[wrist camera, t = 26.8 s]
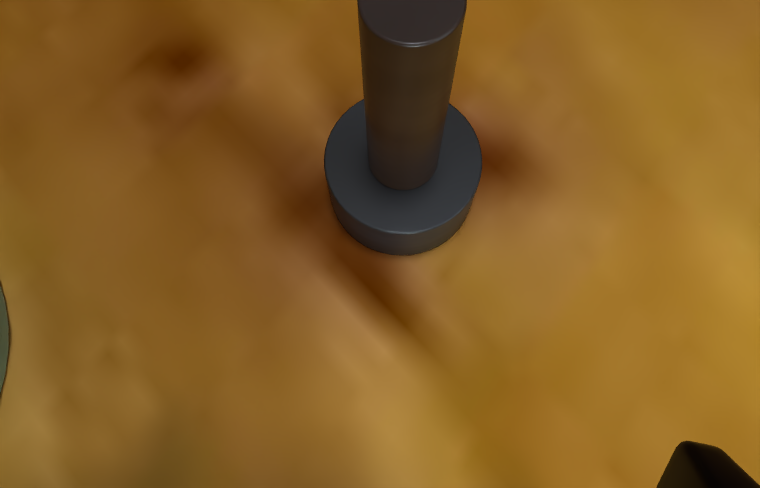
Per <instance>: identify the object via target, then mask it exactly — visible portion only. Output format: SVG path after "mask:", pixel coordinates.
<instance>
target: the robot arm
mask: <svg viewBox="0 0 760 488" xmlns="http://www.w3.org/2000/svg"><path fill="white" fill-rule="evenodd" d="M657 488H760V485H758V484H757V483H756V482H755V481H754V480H753V479H752V478H751V477H750V476H749V475H748V474H747V473H746V472H745V471H744V470H743V469H742V468H741V467H740V466H739V465H738V464H736V463H735V462H734V461H733V460H732V459H731V458H730V457H729V456H728V455H727V454H726V453H725V452H724V451H723V450H721V449H720V448H718V447H715V446H712V445H707V444H702V443H697V442H692V441H683V442H681V443H680V444H679V445H678V446H677V447H676V449H675V451H674V453H673V455H672V457H671V459H670V461H669V463H668V465H667V467H666V469H665V471H664V473H663V475H662V477H661V479H660V481H659V483H658V485H657Z"/></svg>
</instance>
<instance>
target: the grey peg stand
mask: <svg viewBox="0 0 760 488" xmlns="http://www.w3.org/2000/svg"><path fill="white" fill-rule="evenodd" d="M357 2H358V18H359V33H360V47H361V62H362V77H363V91H364V99H363V100H361V101H359V102H358V103H356V104H355V105H354V106H352V107H351V108H350V109H348V110H347V111H346V112H345V113H344V114H343V115H342V116H341V118H340V119H339V120H338V122H337V123H336V124H335V126H334V128H333V129H332V131H331V133H330V136H329V138H328V141H327V144H326V148H325V155H324V169H325V175H326V180H327V184H328V188H329V193H330V197H331V201H332V205H333V208H334V211H335V213H336V215H337V218H338V220H339V221H340V223H341V224H342V226H343V227H344V228H345V229H346V231H347V232H348V233H349V234H350V235H351V236H352V237H353V238H355V239H356V240H357V241H359V242H360V243H362V244H363V245H365V246H367V247H369V248H371V249H373V250H376V251H379V252H382V253H386V254H391V255H412V254H418V253H422V252H425V251H428V250H431V249H433V248H435V247H437V246H439V245H441V244H442V243H444V242H445V241H447V240H448V239H449V238H450V237H451V236H453V235H454V233H455V232H456V231H457V230H458V229H459V228H460V226H461V225H462V223H463V222H464V220H465V218H466V216H467V214H468V212H469V209H470V206H471V204H472V201H473V198H474V195H475V192H476V190H477V187H478V184H479V181H480V177H481V171H482V154H481V148H480V144H479V141H478V138H477V136H476V134H475V132H474V130H473V128H472V126H471V125H470V123H469V122H468V121H467V119H466V118H465V117H464V116H463V115H462V114H461V113H460V112H459V111H458V110H457V109H456V108H455V107H453V106H452V105H451V104H449V99H450V93H451V88H452V83H453V77H454V72H455V66H456V61H457V55H458V50H459V45H460V39H461V34H462V28H463V23H464V17H465V12H466V5H467V0H357Z"/></svg>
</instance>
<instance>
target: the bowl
mask: <svg viewBox="0 0 760 488" xmlns="http://www.w3.org/2000/svg"><path fill="white" fill-rule="evenodd" d="M8 350H9V325H8V318H7V311H6V304H5V300H4V296H3V293H2V290H1V286H0V393H1V389H2V385H3V381H4V377H5V373H6V366H7V358H8Z"/></svg>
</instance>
